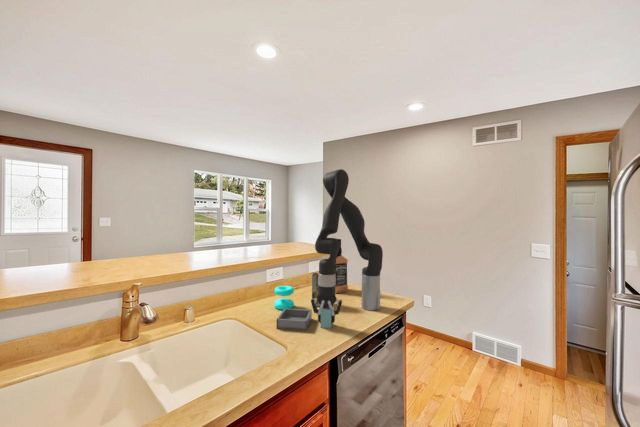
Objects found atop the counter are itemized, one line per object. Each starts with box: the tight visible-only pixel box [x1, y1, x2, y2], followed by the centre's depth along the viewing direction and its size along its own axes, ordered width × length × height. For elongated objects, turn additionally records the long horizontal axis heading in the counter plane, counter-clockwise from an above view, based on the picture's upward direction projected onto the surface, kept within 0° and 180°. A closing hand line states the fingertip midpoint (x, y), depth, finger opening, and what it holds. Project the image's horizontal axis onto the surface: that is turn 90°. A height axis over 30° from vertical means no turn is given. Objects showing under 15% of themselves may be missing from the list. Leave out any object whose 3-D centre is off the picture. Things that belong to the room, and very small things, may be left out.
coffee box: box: [311, 272, 320, 307], centre depth 147 cm, size 9×6×16 cm
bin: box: [276, 308, 313, 332], centre depth 122 cm, size 13×13×4 cm
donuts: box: [273, 285, 295, 311], centre depth 142 cm, size 10×10×10 cm
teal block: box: [319, 307, 333, 329], centre depth 120 cm, size 4×4×8 cm
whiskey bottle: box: [335, 238, 349, 294], centre depth 171 cm, size 10×10×32 cm
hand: (326, 322), depth 120 cm, fingers closed on teal block, 4 cm apart
